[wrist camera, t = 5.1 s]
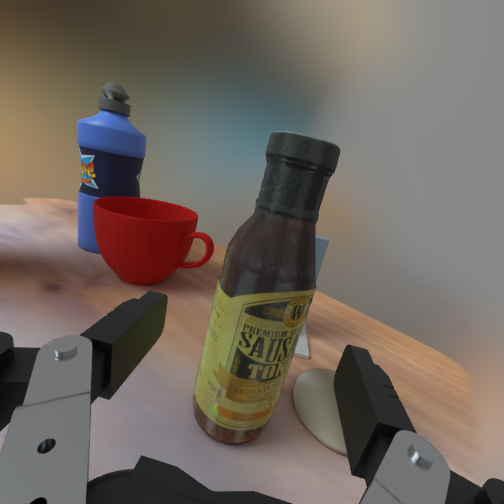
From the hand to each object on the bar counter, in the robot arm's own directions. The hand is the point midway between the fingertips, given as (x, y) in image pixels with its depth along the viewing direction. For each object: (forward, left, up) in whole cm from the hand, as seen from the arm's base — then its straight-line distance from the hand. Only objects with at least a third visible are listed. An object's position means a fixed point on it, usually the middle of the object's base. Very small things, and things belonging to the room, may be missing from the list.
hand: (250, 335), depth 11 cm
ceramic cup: (-2, +27, -11) cm, 29 cm away
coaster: (+12, +3, -11) cm, 16 cm away
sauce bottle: (+3, +5, -11) cm, 13 cm away
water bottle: (-9, +40, -11) cm, 42 cm away
